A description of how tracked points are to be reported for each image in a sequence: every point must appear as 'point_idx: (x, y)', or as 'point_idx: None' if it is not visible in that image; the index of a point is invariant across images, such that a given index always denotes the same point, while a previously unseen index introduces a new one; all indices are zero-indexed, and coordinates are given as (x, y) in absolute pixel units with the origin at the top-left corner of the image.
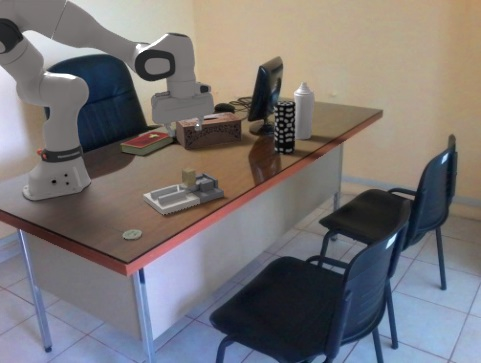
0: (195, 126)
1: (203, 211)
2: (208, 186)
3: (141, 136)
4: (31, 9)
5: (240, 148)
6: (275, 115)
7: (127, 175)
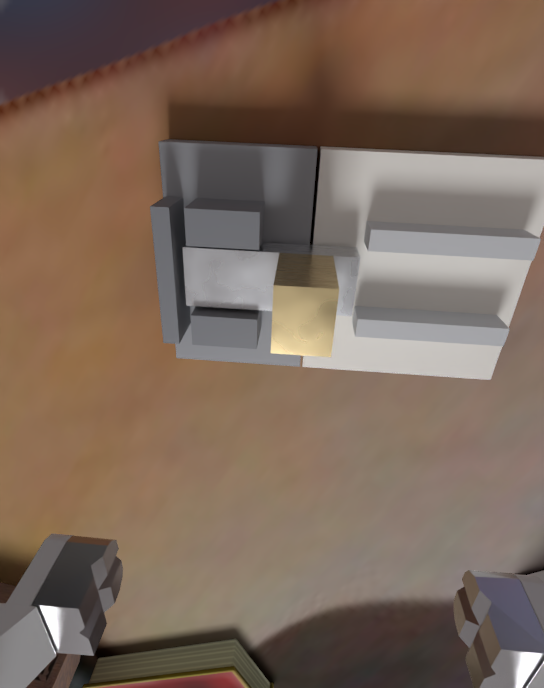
0: (99, 620)
1: (368, 37)
2: (224, 204)
3: None
4: None
5: None
6: None
7: (369, 562)
